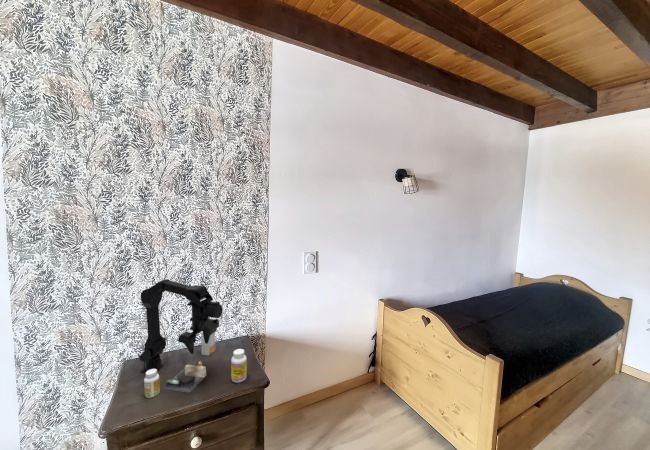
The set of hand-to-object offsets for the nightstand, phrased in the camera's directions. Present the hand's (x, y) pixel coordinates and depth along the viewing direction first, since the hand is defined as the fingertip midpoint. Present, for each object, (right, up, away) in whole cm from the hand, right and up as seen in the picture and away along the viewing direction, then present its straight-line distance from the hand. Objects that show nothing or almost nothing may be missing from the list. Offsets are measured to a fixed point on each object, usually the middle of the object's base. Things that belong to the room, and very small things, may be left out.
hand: (199, 348), depth 125 cm
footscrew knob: (-2, -12, -3) cm, 13 cm away
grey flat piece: (-5, -14, 0) cm, 14 cm away
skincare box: (-5, -12, +22) cm, 26 cm away
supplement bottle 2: (+18, -14, +1) cm, 23 cm away
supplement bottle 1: (-15, -15, -10) cm, 23 cm away
